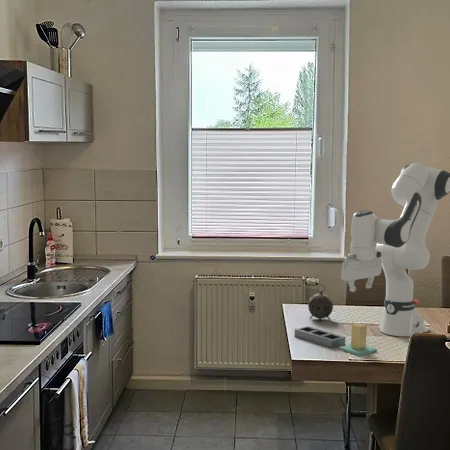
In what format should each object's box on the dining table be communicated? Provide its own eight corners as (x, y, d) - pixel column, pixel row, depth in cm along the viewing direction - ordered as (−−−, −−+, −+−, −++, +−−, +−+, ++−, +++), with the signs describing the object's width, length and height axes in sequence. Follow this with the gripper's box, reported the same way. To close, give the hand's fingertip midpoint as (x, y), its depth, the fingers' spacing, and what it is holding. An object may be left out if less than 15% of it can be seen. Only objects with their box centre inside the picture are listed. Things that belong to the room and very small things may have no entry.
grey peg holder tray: (307, 333, 270) (308, 326, 270) (345, 344, 255) (345, 337, 254) (294, 336, 265) (294, 329, 264) (331, 348, 250) (332, 340, 249)
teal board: (356, 345, 254) (356, 342, 254) (376, 351, 247) (376, 348, 247) (339, 349, 248) (339, 347, 248) (360, 356, 240) (360, 353, 240)
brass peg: (357, 345, 250) (358, 323, 249) (365, 348, 247) (366, 325, 246) (350, 347, 248) (351, 324, 246) (359, 350, 244) (360, 327, 243)
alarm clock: (331, 319, 293) (333, 284, 291) (332, 322, 288) (334, 286, 286) (307, 318, 294) (308, 283, 292) (308, 321, 289) (309, 285, 287)
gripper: (351, 257, 234) (349, 295, 236) (385, 252, 247) (383, 287, 249) (337, 255, 239) (336, 291, 240) (371, 250, 252) (370, 285, 253)
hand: (360, 289), depth 245 cm, fingers open, 8 cm apart
